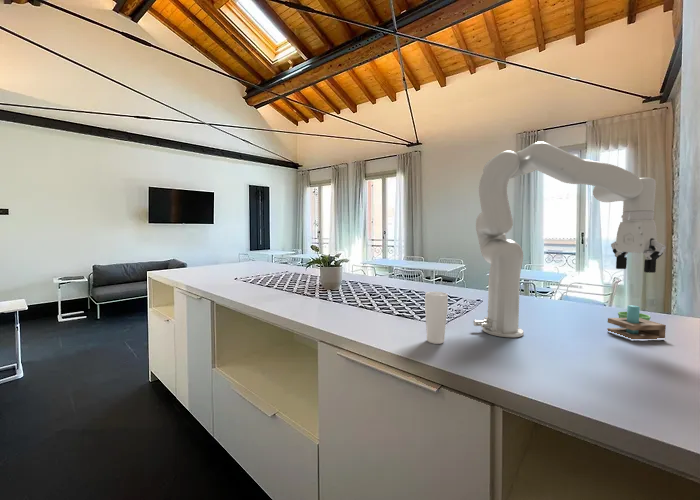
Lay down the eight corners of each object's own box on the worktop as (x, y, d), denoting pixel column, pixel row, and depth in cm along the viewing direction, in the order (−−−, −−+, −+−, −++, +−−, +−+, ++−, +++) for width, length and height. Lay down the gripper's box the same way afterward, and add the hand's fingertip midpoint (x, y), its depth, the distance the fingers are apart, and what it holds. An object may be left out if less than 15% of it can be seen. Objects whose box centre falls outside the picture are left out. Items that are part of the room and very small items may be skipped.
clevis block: (632, 341, 101) (632, 325, 100) (607, 332, 110) (607, 318, 109) (664, 340, 101) (665, 325, 101) (637, 332, 110) (638, 317, 110)
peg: (632, 338, 104) (633, 307, 103) (623, 335, 107) (625, 305, 106) (640, 338, 104) (642, 307, 103) (632, 335, 107) (633, 305, 106)
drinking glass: (447, 339, 102) (448, 292, 101) (446, 346, 95) (447, 296, 95) (425, 337, 104) (426, 291, 103) (423, 343, 98) (423, 294, 97)
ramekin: (636, 323, 122) (637, 311, 121) (657, 330, 113) (657, 318, 112) (611, 322, 123) (611, 311, 122) (629, 329, 114) (630, 317, 113)
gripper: (603, 218, 112) (601, 267, 113) (654, 215, 94) (650, 273, 95) (624, 218, 112) (621, 267, 113) (677, 216, 95) (674, 274, 96)
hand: (634, 270), depth 104 cm, fingers open, 9 cm apart
